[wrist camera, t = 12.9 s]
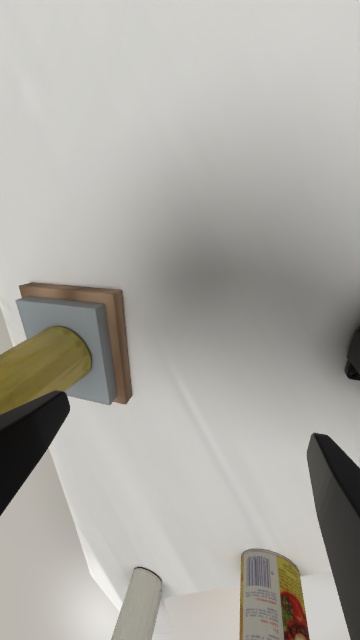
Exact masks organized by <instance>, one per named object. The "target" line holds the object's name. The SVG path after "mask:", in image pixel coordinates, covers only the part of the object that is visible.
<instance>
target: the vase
mask: <svg viewBox="0 0 360 640" xmlns="http://www.w3.org/2000/svg"><path fill="white" fill-rule="evenodd" d="M90 368H91V356H90V352H89V350H88V348H87V346H86V345H85V343H84V342H83V340H82V339H81V338H80V337H79V336H78V335H76V334H75V333H74V332H73V331H71V330H69V329H67V328H64V327H60V326H53V327H49V328H46V329H44V330H43V331H41V332H40V333H38V334H36V335H35V336H33V337H31V338H29V339H27V340H26V341H24V342H22V343H20V344H18V345H17V346H15V347H13V348H11V349H10V350H8V351H6V352H4V353H3V354H1V355H0V415H1V414H3V413H5V412H8V411H10V410H12V409H14V408H16V407H19V406H21V405H23V404H25V403H27V402H30V401H32V400H34V399H36V398H39V397H41V396H43V395H45V394H47V393H50V392H52V391H54V390H59V391H64V392H66V391H67V390H68V389H69V388H70V387H72V386H73V385H74V384H75V383H77V382H78V381H79V380H81V379H82V378H84V377H85V376H86V375H87V374H88V373H89V371H90Z"/></svg>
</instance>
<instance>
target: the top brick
mask: <svg viewBox="0 0 360 640" xmlns="http://www.w3.org/2000/svg"><path fill="white" fill-rule="evenodd" d="M16 304H17V307H18V310H19V314H20V317H21V320H22V324H23V327H24V331H25V334H26V337H27V339H29V338H31V337H33V336H35V335H36V334H38V333H40V332H41V331H43V330H44V329H46V328H49V327H53V326H60V327H64V328H67V329H69V330H71V331H73V332H74V333H75V334H76V335H78V336H79V337H80V338H81V339H82V340H83V342H84V343H85V345H86V346H87V348H88V350H89V352H90V356H91V368H90V371H89V373H88V374H87V375H86V376H85V377H84V378H82V379H81V380H79V381H78V382H77V383H75V384H74V385H73V386H72V387H70V388H69V389H68V390H67V391H66V392H65V393H66V394H67V396H71V397H75V398H80V399H84V400H89V401H93V402H97V403H102V404H106V405H111V403H112V402H113V401H114V399H115V398H116V397H117V391H116V383H115V376H114V368H113V361H112V354H111V346H110V339H109V331H108V324H107V316H106V309H105V304H102V303H93V302H83V301H73V300H63V299H53V298H43V297H34V296H27V297H24V298H21V299H18V300H16Z"/></svg>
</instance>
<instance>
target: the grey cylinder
mask: <svg viewBox="0 0 360 640" xmlns="http://www.w3.org/2000/svg"><path fill="white" fill-rule="evenodd" d="M161 584H162V583H161V581H160V579H159V578H158V577H157V576H156V575H154V574H153V573H152V572H150V571H148V570H145V569H142V568H136V569H135V570H134V572H133V575H132V578H131V581H130V584H129V587H128V590H127V593H126V596H125V599H124V602H123V605H122V608H121V611H120V614H119V617H118V620H117V623H116V626H115V629H114V633H113V636H112V639H111V640H151V639H152V635H153V631H154V626H155V622H156V618H157V614H158V609H159V605H160V601H161V596H162V592H161V591H160V589H161Z"/></svg>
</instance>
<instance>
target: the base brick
mask: <svg viewBox="0 0 360 640" xmlns="http://www.w3.org/2000/svg"><path fill="white" fill-rule="evenodd" d="M19 289H20V292H21V296H22V298H24V297H27V296H34V297H43V298H53V299H63V300H73V301H83V302H93V303H102V304H105V309H106V316H107V324H108V331H109V339H110V346H111V354H112V361H113V368H114V376H115V383H116V391H117V397H116V398H115V399H114V401H113V402H117V403H121V404H127V402H128V401H129V399H130V398H131V396H132V391H131V381H130V371H129V361H128V351H127V341H126V331H125V321H124V311H123V301H122V292H121V290H113V289H101V288H89V287H77V286H65V285H53V284H41V283H28V284H24V285H20V286H19Z"/></svg>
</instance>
